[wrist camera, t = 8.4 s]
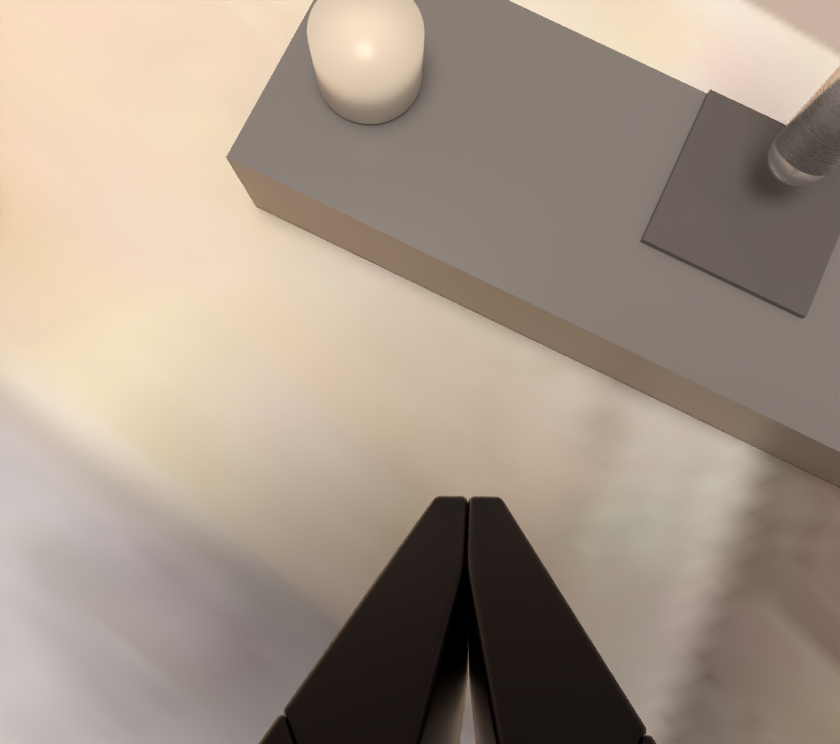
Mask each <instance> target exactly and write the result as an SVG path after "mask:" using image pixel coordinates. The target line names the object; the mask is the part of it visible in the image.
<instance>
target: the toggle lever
mask: <svg viewBox="0 0 840 744" xmlns="http://www.w3.org/2000/svg"><path fill="white" fill-rule="evenodd" d="M839 163H840V66H839V67H838V68H837V69H836V71H835V72H834V73H833V74H832V75H831V76H830V77H829V78H828V80H827V81H826V82H825V83H824V84H823V85H822V86H821V87H820V88H819V90H818V91H817V92H816V93H815V94H814V95H813V96H812V97H811V99H810V100H809V101H808V102H807V103H806V104H805V105H804V106H803V108H802V109H801V110H800V111H799V112H798V113H797V114H796V115H795V116H794V118H793V119H792V120H791V121H790V122H789V123H788V124H787V125H786V127H785V128H784V129H783V130H782V131H781V132H780V133H779V134H778V136H777V137H776V138H775V140H774V141H773V142H772V144H771V146H770V149H769V152H768V166H769V169H770V172H771V173H772V175H773V176H774V177H775V178H776V179H777V180H779V181H780V182H782V183H784V184H787V185H792V186H803V185H808V184H811V183H814V182H817V181H818V180H820V179H822V178H823V177H825V176H826V175H827V174H828V173H830V172H831V171H832V170H833V169H834V168H835V167H836V166H837V165H838V164H839Z"/></svg>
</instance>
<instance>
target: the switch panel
mask: <svg viewBox="0 0 840 744" xmlns="http://www.w3.org/2000/svg"><path fill="white" fill-rule="evenodd" d="M316 1H317V0H314V1H313V2H312V4H311V6H310V8H309V10H308V11H307V13H306V15H305V17H304V19H303V20H302V22H301V24H300V26H299V28H298V29H297V31H296V33H295V35H294V37H293V38H292V40H291V42H290V44H289V46H288V47H287V49H286V51H285V53H284V55H283V56H282V58H281V60H280V62H279V64H278V65H277V67H276V69H275V71H274V73H273V74H272V76H271V78H270V80H269V81H268V83H267V85H266V87H265V89H264V90H263V92H262V94H261V96H260V98H259V99H258V101H257V103H256V105H255V107H254V108H253V110H252V112H251V114H250V116H249V117H248V119H247V121H246V123H245V125H244V126H243V128H242V130H241V132H240V134H239V135H238V137H237V139H236V141H235V143H234V144H233V146H232V148H231V150H230V152H229V153H228V155H227V157H226V158H227V160H228V161H229V163H230V165H231V166H232V168H233V169H234V171H235V173H236V174H237V176H238V178H239V179H240V181H241V182H242V184H243V186H244V187H245V189H246V191H247V192H248V194H249V195H250V197H251V199H252V200H253V202H254V204H255V205H256V207H258V208H261V209H263V210H265V211H267V212H269V213H271V214H273V215H275V216H277V217H279V218H281V219H283V220H285V221H288V222H290V223H292V224H294V225H296V226H298V227H300V228H302V229H304V230H306V231H308V232H310V233H312V234H315V235H317V236H319V237H321V238H323V239H325V240H327V241H329V242H331V243H333V244H335V245H337V246H339V247H342V248H344V249H346V250H348V251H350V252H352V253H354V254H356V255H358V256H360V257H362V258H364V259H367V260H369V261H371V262H373V263H375V264H377V265H379V266H381V267H383V268H385V269H387V270H389V271H391V272H394V273H396V274H398V275H400V276H402V277H404V278H406V279H408V280H410V281H412V282H414V283H416V284H418V285H421V286H423V287H425V288H427V289H429V290H431V291H433V292H435V293H437V294H439V295H441V296H443V297H445V298H448V299H450V300H452V301H454V302H456V303H458V304H460V305H462V306H464V307H466V308H468V309H470V310H473V311H475V312H477V313H479V314H481V315H483V316H485V317H487V318H489V319H491V320H493V321H495V322H497V323H500V324H502V325H504V326H506V327H508V328H510V329H512V330H514V331H516V332H518V333H520V334H522V335H524V336H527V337H529V338H531V339H533V340H535V341H537V342H539V343H541V344H543V345H545V346H547V347H549V348H551V349H554V350H556V351H558V352H560V353H562V354H564V355H566V356H568V357H570V358H572V359H574V360H576V361H579V362H581V363H583V364H585V365H587V366H589V367H591V368H593V369H595V370H597V371H599V372H601V373H603V374H606V375H608V376H610V377H612V378H614V379H616V380H618V381H620V382H622V383H624V384H626V385H628V386H630V387H633V388H635V389H637V390H639V391H641V392H643V393H645V394H647V395H649V396H651V397H653V398H655V399H658V400H660V401H662V402H664V403H666V404H668V405H670V406H672V407H674V408H676V409H678V410H680V411H682V412H685V413H687V414H689V415H691V416H693V417H695V418H697V419H699V420H701V421H703V422H705V423H707V424H709V425H712V426H714V427H716V428H718V429H720V430H722V431H724V432H726V433H728V434H730V435H732V436H734V437H736V438H739V439H741V440H743V441H745V442H747V443H749V444H751V445H753V446H755V447H757V448H759V449H761V450H764V451H766V452H768V453H770V454H772V455H774V456H776V457H778V458H780V459H782V460H784V461H786V462H788V463H791V464H793V465H795V466H797V467H799V468H801V469H803V470H805V471H807V472H809V473H811V474H813V475H815V476H818V477H820V478H822V479H824V480H826V481H828V482H830V483H832V484H834V485H836V486H838V487H840V163H839V164H838V165H837V166H836V167H835V168H834V169H833V170H832V171H831V172H830V173H828V174H827V175H826V176H825V177H823V178H822V179H820V180H818V181H817V182H814V183H811V184H808V185H803V186H792V185H787V184H784V183H782V182H780V181H779V180H777V179H776V178H775V177H774V176H773V175H772V173H771V172H770V169H769V166H768V152H769V149H770V146H771V144H772V142H773V141H774V140H775V138H776V137H777V136H778V134H779V133H780V132H781V131H782V130H783V129H784V128H785V127H786V125H785V124H783V123H780V122H778V121H776V120H774V119H772V118H770V117H768V116H766V115H763V114H761V113H759V112H757V111H755V110H753V109H751V108H749V107H746V106H744V105H742V104H740V103H738V102H736V101H734V100H731V99H729V98H727V97H725V96H723V95H721V94H719V93H717V92H714V91H712V90H710V91H709V92H708V93H704V92H702V91H700V90H698V89H696V88H694V87H692V86H690V85H687V84H685V83H683V82H681V81H679V80H677V79H675V78H672V77H670V76H668V75H666V74H664V73H662V72H660V71H658V70H655V69H653V68H651V67H649V66H647V65H645V64H643V63H641V62H638V61H636V60H634V59H632V58H630V57H628V56H626V55H624V54H621V53H619V52H617V51H615V50H613V49H611V48H609V47H606V46H604V45H602V44H600V43H598V42H596V41H594V40H592V39H589V38H587V37H585V36H583V35H581V34H579V33H577V32H575V31H572V30H570V29H568V28H566V27H564V26H562V25H560V24H558V23H555V22H553V21H551V20H549V19H547V18H545V17H543V16H540V15H538V14H536V13H534V12H532V11H530V10H528V9H526V8H523V7H521V6H519V5H517V4H515V3H513V2H511V1H509V0H413V1H414V2H415V4H416V5H417V7H418V9H419V11H420V13H421V15H422V19H423V23H424V52H423V68H422V81H421V87H420V90H419V93H418V95H417V97H416V99H415V101H414V102H413V104H412V105H411V106H410V107H409V108H408V109H407V110H406V111H405V112H404V113H402V114H401V115H400V116H398V117H396V118H394V119H392V120H390V121H387V122H383V123H379V124H362V123H357V122H353V121H350V120H348V119H345V118H344V117H342V116H340V115H339V114H337V113H336V112H335V111H333V110H332V109H331V108H330V107H329V105H328V104H327V103H326V102H325V100H324V98H323V97H322V95H321V92H320V90H319V87H318V83H317V79H316V74H315V70H314V66H313V61H312V57H311V53H310V48H309V44H308V38H307V24H308V18H309V15H310V12H311V10H312V8H313V6H314V4H315V3H316Z"/></svg>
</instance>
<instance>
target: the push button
mask: <svg viewBox="0 0 840 744" xmlns="http://www.w3.org/2000/svg"><path fill="white" fill-rule="evenodd" d="M307 38H308V44H309V48H310V53H311V57H312V61H313V66H314V70H315V74H316V79H317V83H318V87H319V90H320V92H321V95H322V97H323V98H324V100H325V102H326V103H327V104H328V105H329V107H330V108H331V109H332V110H333V111H335V112H336V113H337V114H339V115H340V116H342V117H344V118H345V119H348V120H350V121H353V122H357V123H362V124H379V123H383V122H387V121H390V120H392V119H394V118H396V117H398V116H400V115H401V114H402V113H404V112H405V111H406V110H407V109H408V108H409V107H410V106H411V105H412V104H413V102H414V101H415V99H416V97H417V95H418V93H419V90H420V87H421V81H422V68H423V52H424V23H423V19H422V15H421V13H420V11H419V9H418V7H417V5H416V4H415V2H414V1H413V0H317V1H316V3H315V4H314V6H313V8H312V10H311V12H310V15H309V18H308V24H307Z"/></svg>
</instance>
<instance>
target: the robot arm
mask: <svg viewBox="0 0 840 744" xmlns="http://www.w3.org/2000/svg"><path fill="white" fill-rule="evenodd" d="M468 648H469V679H470V691H471V702H472V711H473V720H474V729H475V738H476V744H656V743H655V741H654V739H653V738H652V737H651V736H649V735H647V736H645V735H646V727H645V726H644V724H643V723H642V721H641V719H640V718H639V716H638V715H637V713H636V711H635V710H634V708H633V707H632V705H631V703H630V702H629V700H628V699H627V697H626V696H625V694H624V692H623V691H622V689H621V688H620V686H619V684H618V683H617V681H616V680H615V678H614V676H613V675H612V673H611V672H610V670H609V668H608V667H607V665H606V664H605V662H604V661H603V659H602V657H601V656H600V654H599V653H598V651H597V649H596V648H595V646H594V645H593V643H592V641H591V640H590V638H589V637H588V635H587V633H586V632H585V630H584V629H583V627H582V625H581V624H580V622H579V621H578V619H577V618H576V616H575V614H574V613H573V611H572V610H571V608H570V606H569V605H568V603H567V602H566V600H565V598H564V597H563V595H562V594H561V592H560V590H559V589H558V587H557V586H556V584H555V583H554V581H553V579H552V578H551V576H550V575H549V573H548V571H547V570H546V568H545V567H544V565H543V563H542V562H541V560H540V559H539V557H538V555H537V554H536V552H535V551H534V549H533V547H532V546H531V544H530V543H529V541H528V540H527V538H526V536H525V535H524V533H523V532H522V530H521V528H520V527H519V525H518V524H517V522H516V520H515V519H514V517H513V516H512V514H511V512H510V511H509V509H508V508H507V506H506V505H505V503H504V502H503V500H502V499H501V498H499V497H477V496H474V497H471V498H470V499H469V502H468V501H467V499H466V498H465V497H463V496H438V497H436V498H434V500H433V501H432V502H431V503H430V505H429V506H428V508H427V509H426V510H425V512H424V513H423V515H422V516H421V518H420V519H419V520H418V522H417V523H416V525H415V526H414V527H413V529H412V530H411V532H410V533H409V534H408V536H407V537H406V539H405V540H404V541H403V543H402V544H401V546H400V547H399V548H398V550H397V551H396V553H395V554H394V555H393V557H392V558H391V560H390V561H389V562H388V564H387V565H386V567H385V568H384V569H383V571H382V572H381V574H380V575H379V576H378V578H377V579H376V581H375V582H374V583H373V585H372V586H371V588H370V589H369V590H368V592H367V593H366V595H365V596H364V597H363V599H362V600H361V602H360V603H359V604H358V606H357V607H356V609H355V610H354V611H353V613H352V614H351V616H350V617H349V618H348V620H347V621H346V623H345V624H344V625H343V627H342V628H341V630H340V631H339V632H338V634H337V635H336V637H335V638H334V640H333V641H332V642H331V644H330V645H329V647H328V648H327V649H326V651H325V652H324V654H323V655H322V656H321V658H320V659H319V661H318V662H317V663H316V665H315V666H314V668H313V669H312V670H311V672H310V673H309V675H308V676H307V677H306V679H305V680H304V682H303V683H302V684H301V686H300V687H299V689H298V690H297V691H296V693H295V694H294V696H293V697H292V698H291V700H290V701H289V703H288V704H287V705H286V707H285V709H284V714H285V716H283V715H280V716H278V717H277V719H276V720H275V722H274V723H273V724H272V726H271V727H270V729H269V730H268V732H267V733H266V734H265V736H264V737H263V739H262V740H261V741H260V743H259V744H460V736H461V728H462V720H463V712H464V704H465V697H466V687H467V676H468Z"/></svg>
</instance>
